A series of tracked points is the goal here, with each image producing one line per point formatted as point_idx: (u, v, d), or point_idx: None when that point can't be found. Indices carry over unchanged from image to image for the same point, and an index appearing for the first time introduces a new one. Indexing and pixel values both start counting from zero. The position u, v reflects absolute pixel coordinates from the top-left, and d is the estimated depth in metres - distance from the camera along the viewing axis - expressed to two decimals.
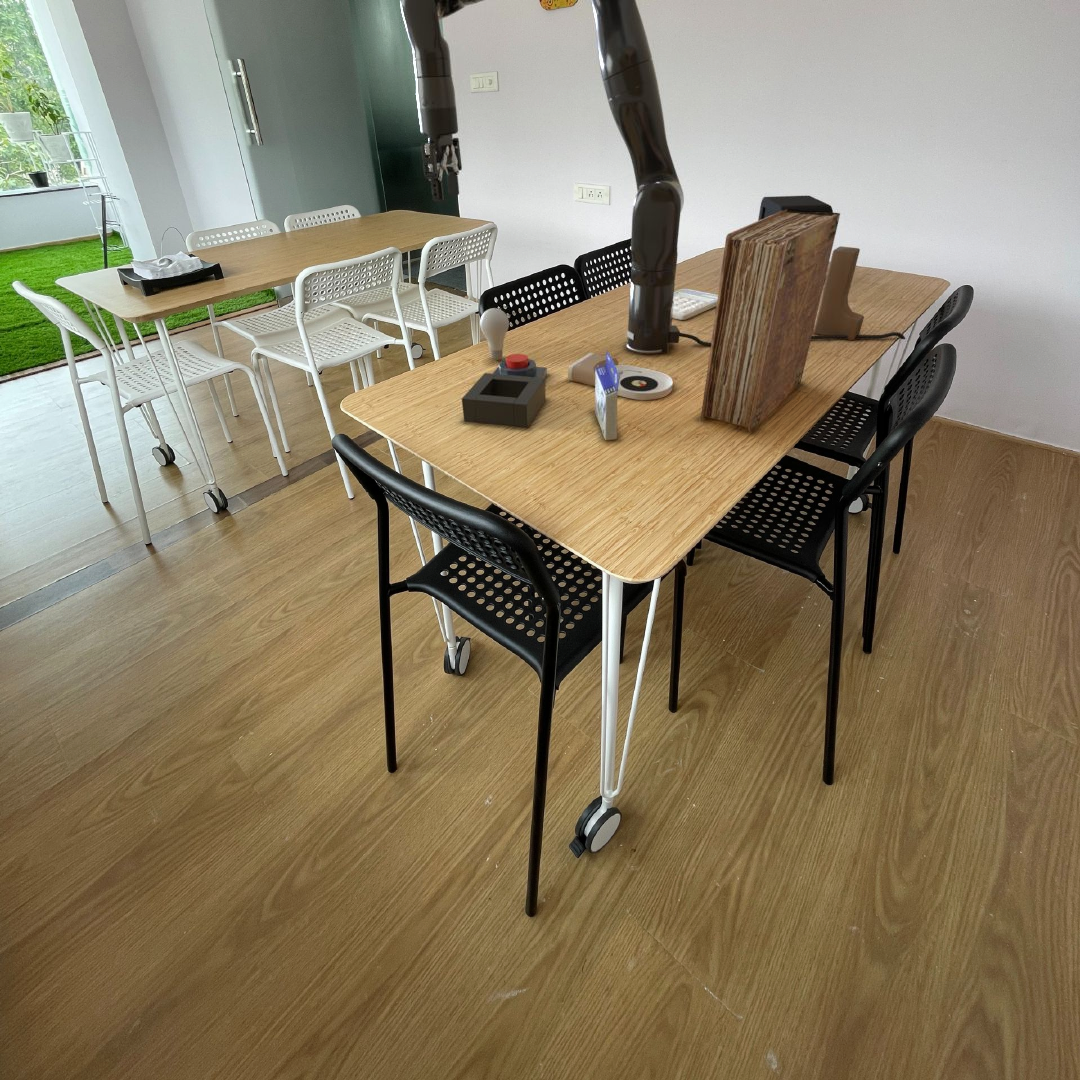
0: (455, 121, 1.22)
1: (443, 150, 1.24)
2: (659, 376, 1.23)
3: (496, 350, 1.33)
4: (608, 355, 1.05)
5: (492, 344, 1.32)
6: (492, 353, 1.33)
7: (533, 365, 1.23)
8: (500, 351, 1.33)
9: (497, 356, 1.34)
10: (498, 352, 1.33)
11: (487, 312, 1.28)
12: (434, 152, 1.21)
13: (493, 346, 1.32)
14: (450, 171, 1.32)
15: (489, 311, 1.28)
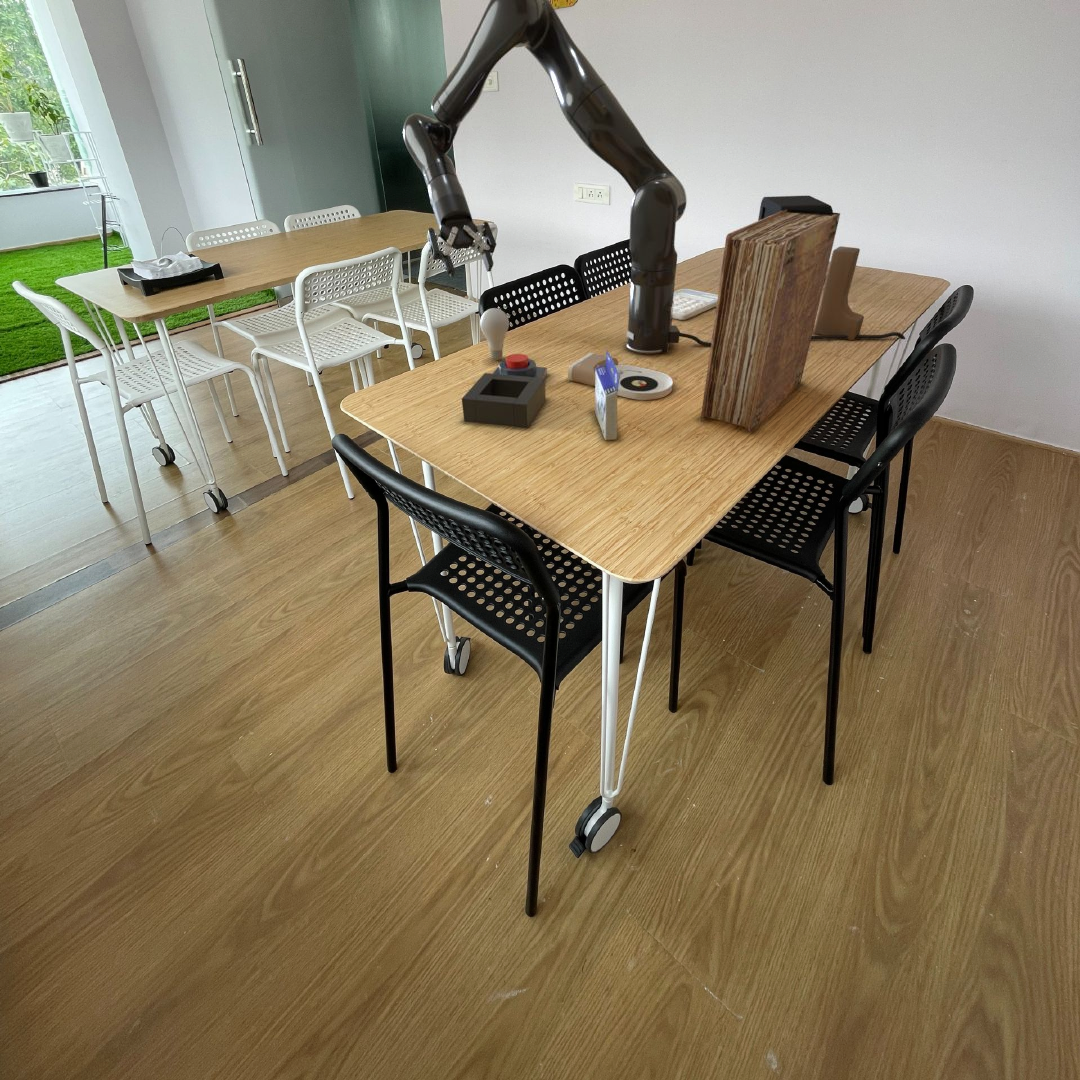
0: (454, 203, 1.31)
1: None
2: (659, 376, 1.23)
3: (496, 350, 1.33)
4: (608, 355, 1.05)
5: (492, 344, 1.32)
6: (492, 353, 1.33)
7: (533, 365, 1.23)
8: (500, 351, 1.33)
9: (497, 356, 1.34)
10: (498, 352, 1.33)
11: (487, 312, 1.28)
12: (432, 234, 1.32)
13: (493, 346, 1.32)
14: (482, 251, 1.36)
15: (489, 311, 1.28)
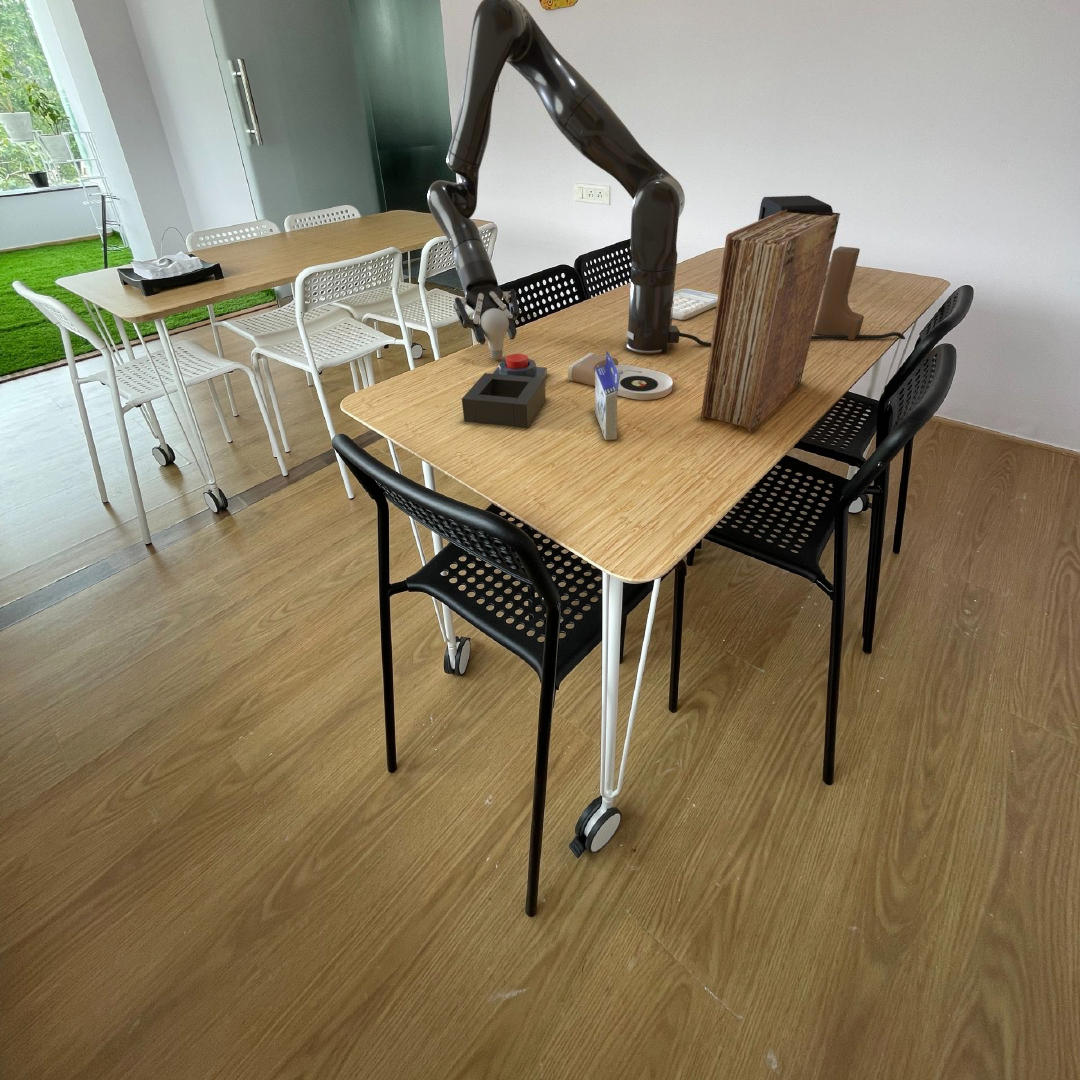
0: (480, 270, 1.29)
1: (477, 298, 1.30)
2: (659, 376, 1.23)
3: (496, 350, 1.33)
4: (608, 355, 1.05)
5: (492, 344, 1.32)
6: (492, 353, 1.33)
7: (533, 365, 1.23)
8: (500, 351, 1.33)
9: (497, 356, 1.34)
10: (498, 352, 1.33)
11: (487, 312, 1.28)
12: (459, 303, 1.29)
13: (493, 346, 1.32)
14: None
15: (488, 311, 1.28)
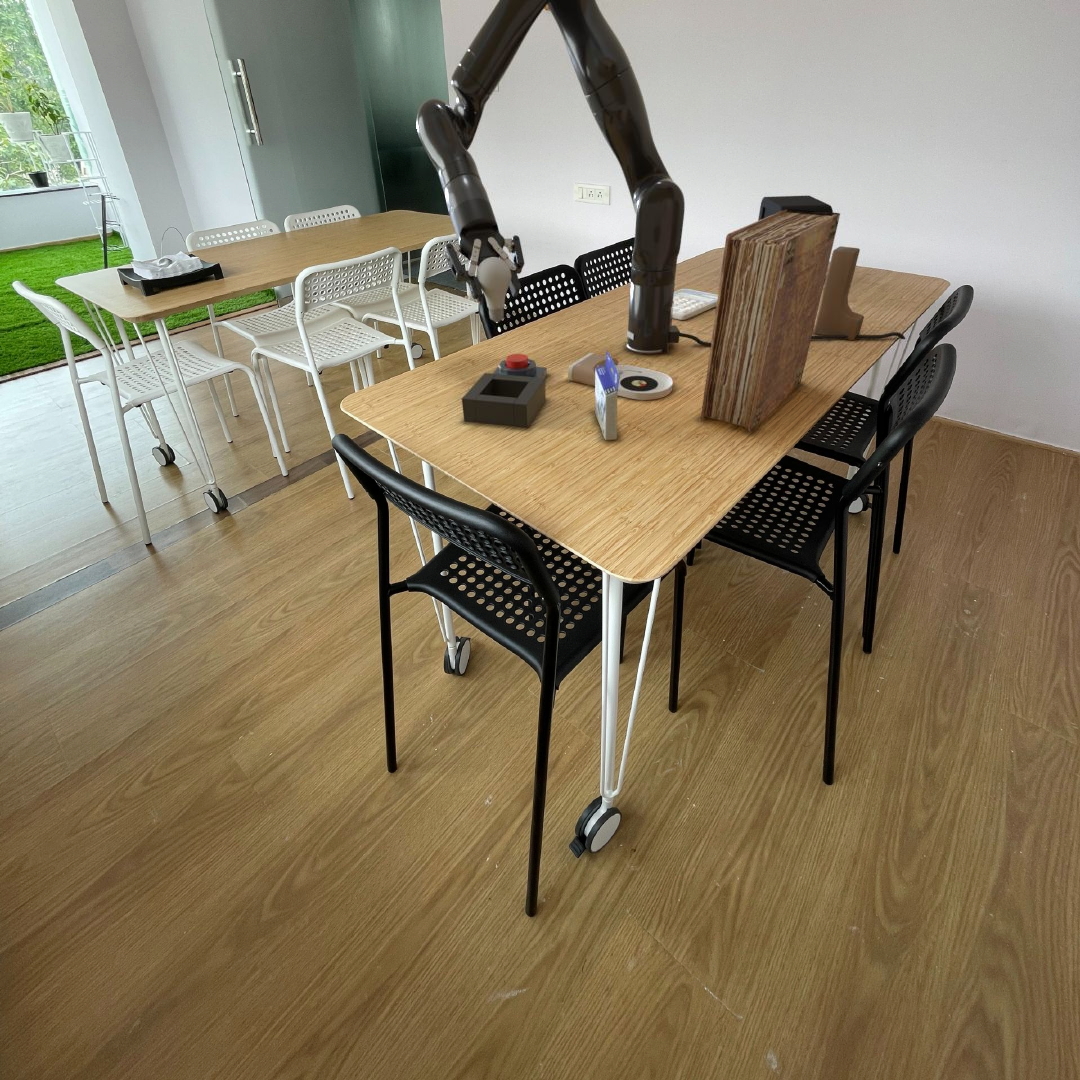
0: (477, 210, 1.06)
1: (473, 245, 1.08)
2: (659, 376, 1.23)
3: (496, 309, 1.10)
4: (608, 355, 1.05)
5: (491, 301, 1.09)
6: (492, 313, 1.11)
7: (533, 365, 1.23)
8: (501, 310, 1.11)
9: (497, 316, 1.11)
10: (498, 311, 1.11)
11: (485, 261, 1.06)
12: (451, 251, 1.06)
13: (492, 303, 1.09)
14: None
15: (487, 260, 1.06)
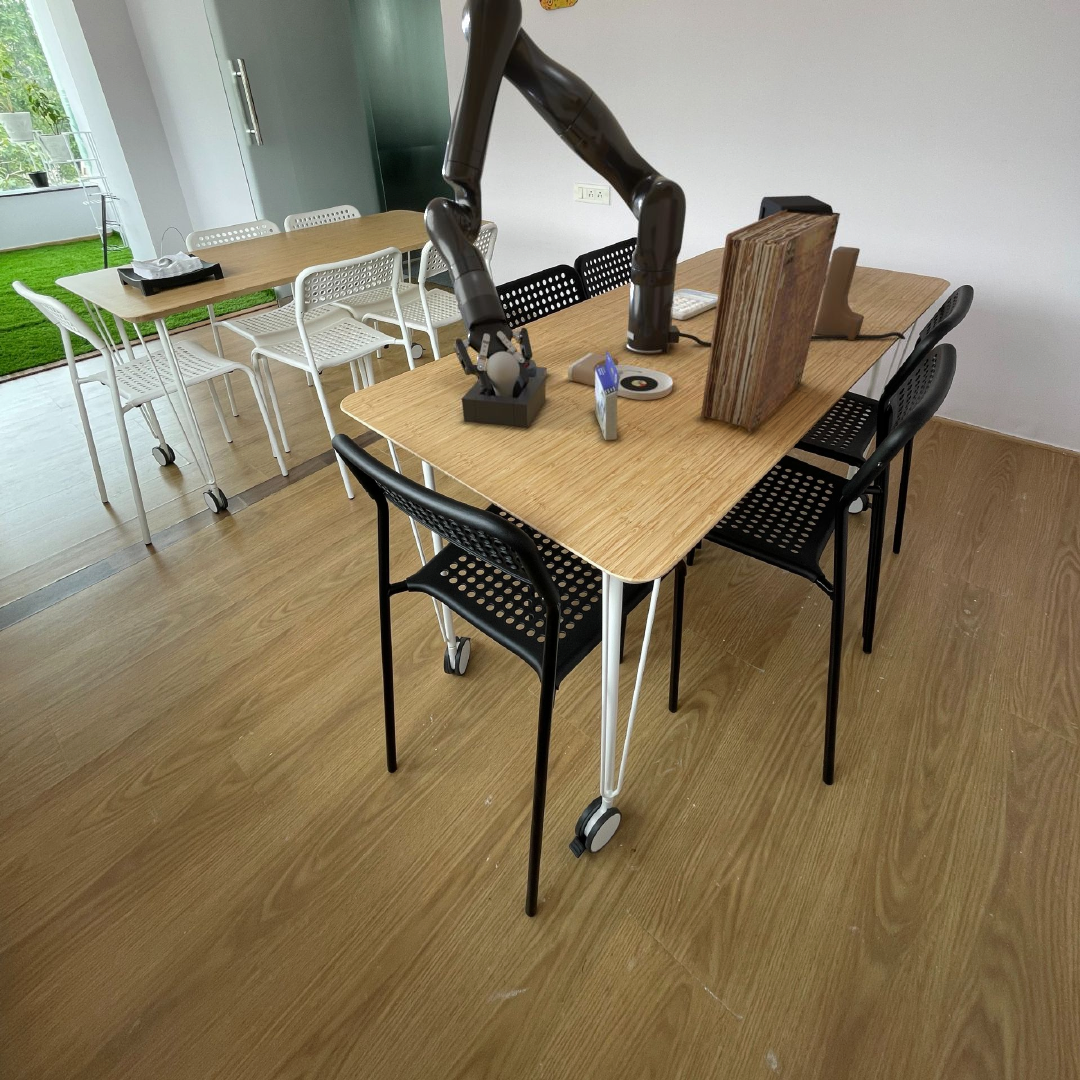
0: (486, 306, 1.08)
1: (482, 340, 1.10)
2: (659, 376, 1.23)
3: None
4: (608, 355, 1.05)
5: (499, 393, 1.11)
6: None
7: (533, 365, 1.23)
8: None
9: None
10: None
11: (494, 357, 1.08)
12: (461, 346, 1.08)
13: (501, 395, 1.11)
14: None
15: (496, 356, 1.08)
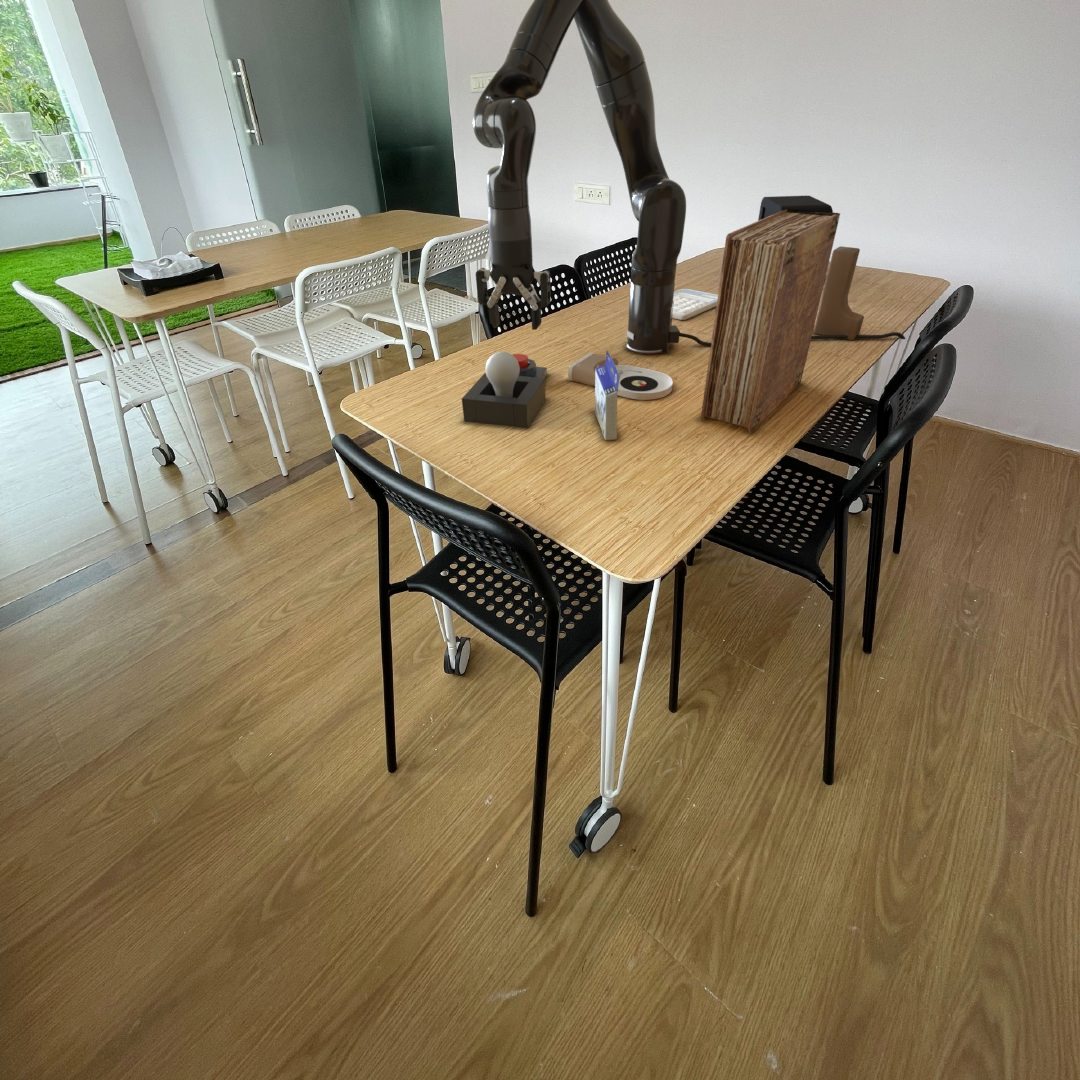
0: None
1: None
2: (659, 376, 1.23)
3: None
4: (608, 355, 1.05)
5: (499, 393, 1.11)
6: None
7: (533, 365, 1.23)
8: None
9: None
10: None
11: (494, 357, 1.08)
12: None
13: (501, 395, 1.11)
14: (494, 302, 1.17)
15: (496, 356, 1.08)
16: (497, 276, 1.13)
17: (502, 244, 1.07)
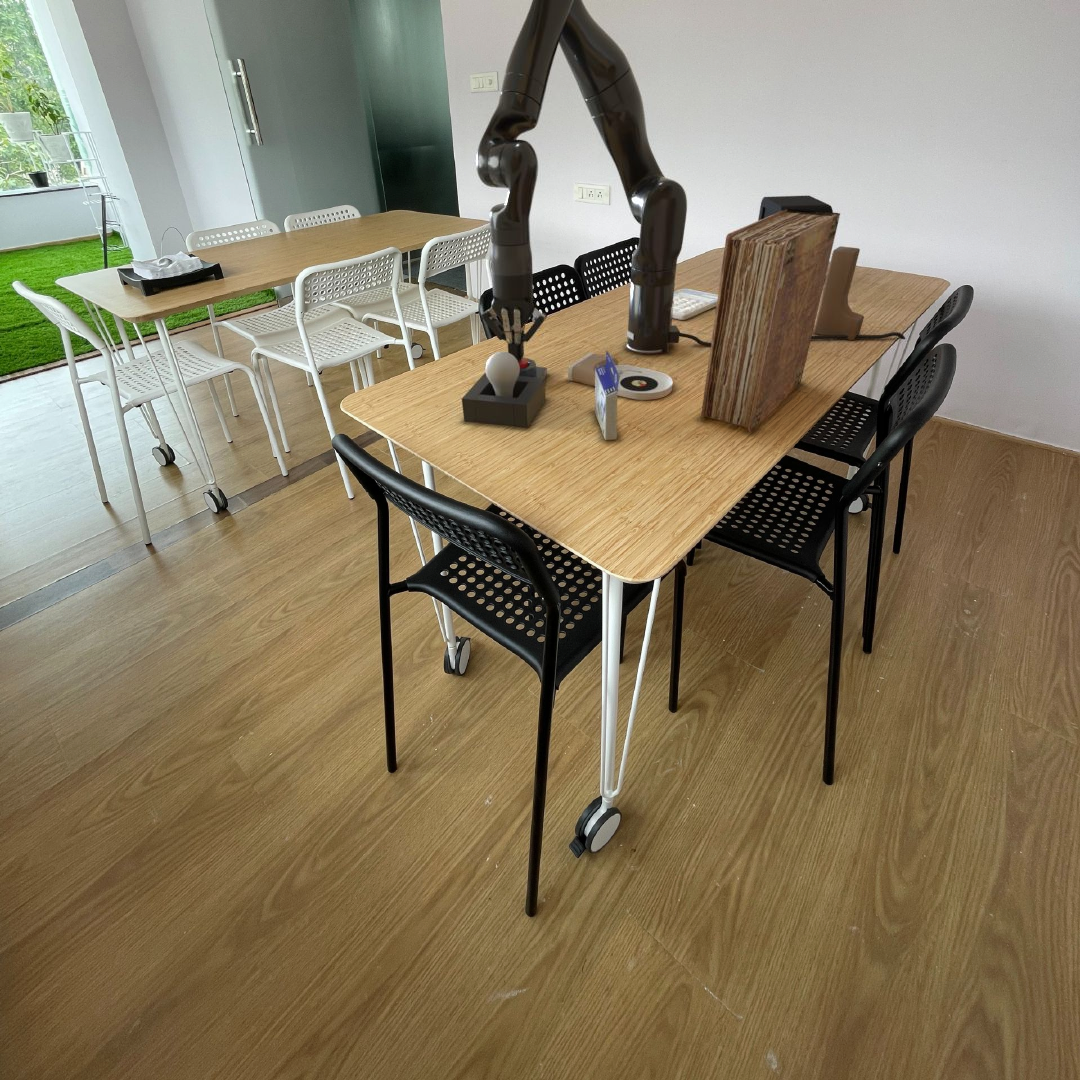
0: None
1: None
2: (659, 376, 1.23)
3: None
4: (608, 355, 1.05)
5: (499, 393, 1.11)
6: None
7: (533, 365, 1.23)
8: None
9: None
10: None
11: (494, 357, 1.08)
12: None
13: (501, 395, 1.11)
14: (512, 336, 1.20)
15: (496, 356, 1.08)
16: (498, 307, 1.17)
17: (504, 278, 1.11)
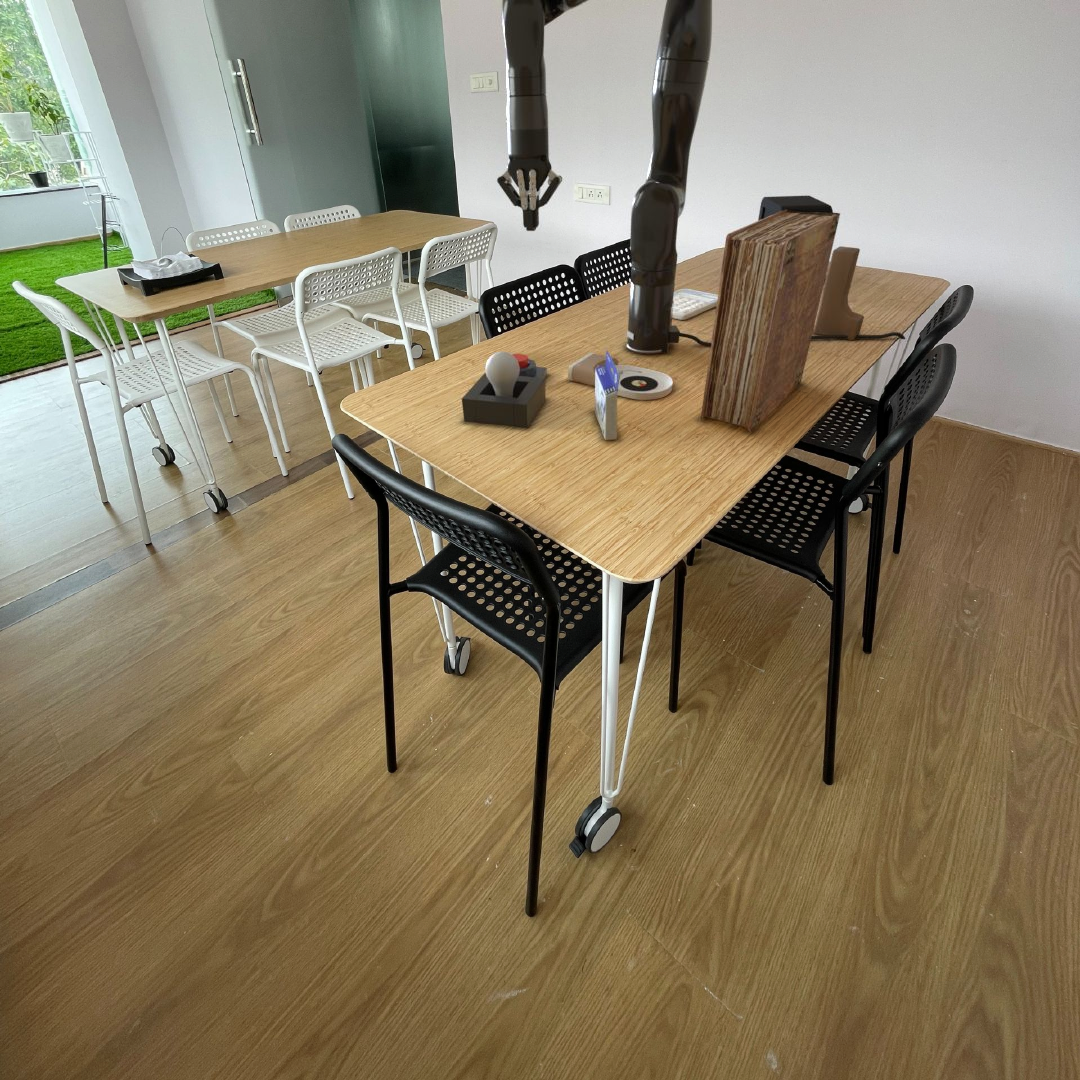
0: None
1: None
2: (659, 376, 1.23)
3: None
4: (608, 355, 1.05)
5: (499, 393, 1.11)
6: None
7: (533, 365, 1.23)
8: None
9: None
10: None
11: (494, 357, 1.08)
12: None
13: (501, 395, 1.11)
14: (527, 203, 1.20)
15: (496, 356, 1.08)
16: (514, 170, 1.17)
17: (520, 133, 1.11)
